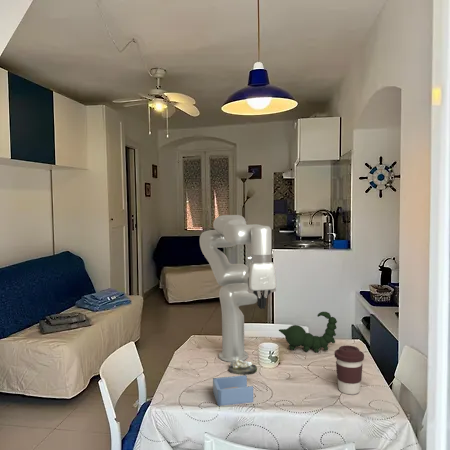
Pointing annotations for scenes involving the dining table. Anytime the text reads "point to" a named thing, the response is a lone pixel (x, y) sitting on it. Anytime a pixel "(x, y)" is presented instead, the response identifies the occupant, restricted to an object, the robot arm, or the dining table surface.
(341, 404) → the dining table surface
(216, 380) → the box
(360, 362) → the coffee cup
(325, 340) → the toy figurine
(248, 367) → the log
